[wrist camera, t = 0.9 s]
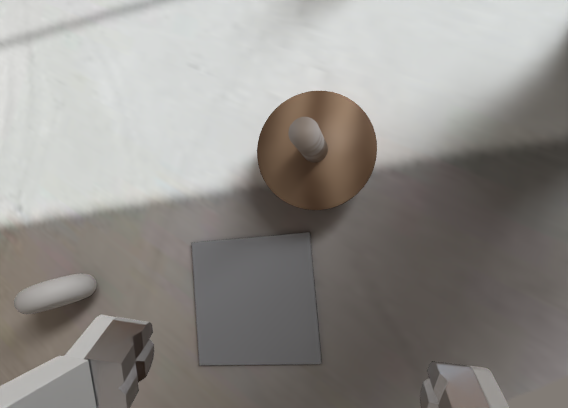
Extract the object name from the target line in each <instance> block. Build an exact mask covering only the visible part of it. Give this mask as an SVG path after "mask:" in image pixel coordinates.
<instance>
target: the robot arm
mask: <svg viewBox="0 0 568 408" xmlns="http://www.w3.org/2000/svg"><path fill="white" fill-rule="evenodd" d="M152 333H153V329H152V324H151V323H150V322H145V321H139V320H133V319H127V318H121V317H112V316H107V315H100V316H98V317H96V318H95V319H94V320H93V322H92V323H91V324H90V325H89V327H88V328H87V329H86V330H85V331H84V333H83V334H82V335H81V336H80V337H79V339H78V340H77V341H76V342H75V344H74V345H73V346H72V347H71V348H70V350H69V351H68V352H67V353H66V354H65V356H57V357H55V358H54V359H52V360H50V361H48V362H46V363H44V364H42V365H40V366H38V367H36V368H34V369H32V370H30V371H28V372H26V373H25V374H23V375H21V376H19V377H17V378H15V379H13V380H11V381H9V382H7V383H5V384H3V385H1V386H0V408H130V407H131V405H132V403H133V401H134V399H135V397H136V395H137V393H138V391H139V388H138V382H140V381H141V380H143V379H144V378H146V376H147V374H148V372H149V370H150V368H151V364H152V361H153V357H154V344H153V342H152V341H151V340H150V339H149V338H150V337H151V335H152ZM427 372H428V375H429V378H428V379H427V380H425V381H424V382H423V385H422V388H421V394H420V403H421V408H510V407H509V405H508V403H507V401H506V399H505V397H504V395H503V394H502V392H501V390H500V388H499V386H498V384H497V382H496V380H495V378H494V376H493V374H492V372H491V371H490V370H489V369H488V368H484V367H476V366H467V365H460V364H452V363H444V362H436V361H432V362H431V363H430V364H429V367H428V370H427Z"/></svg>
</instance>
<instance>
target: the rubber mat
mask: <svg viewBox="0 0 568 408" xmlns="http://www.w3.org/2000/svg"><path fill="white" fill-rule="evenodd" d="M192 258H193V273H194V289H195V305H196V321H197V337H198V353H199V365H275V364H321V363H322V361H321V350H320V339H319V328H318V317H317V306H316V294H315V283H314V272H313V261H312V250H311V239H310V232H308V233H296V234H285V235H273V236H261V237H249V238H238V239H226V240H214V241H202V242H192Z"/></svg>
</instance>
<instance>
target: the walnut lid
mask: <svg viewBox="0 0 568 408" xmlns="http://www.w3.org/2000/svg"><path fill="white" fill-rule="evenodd" d="M376 154H377V141H376V135H375V132H374V129H373V126H372V124H371V122H370V120H369V118H368V116H367V115H366V113H365V112H364V111H363V110H362V109H361V108H360V107H359V106H358V105H357V104H356V103H355V102H353V101H352V100H350V99H349V98H347V97H345V96H342V95H340V94H337V93H334V92H328V91H310V92H305V93H301V94H299V95H296V96H294V97H292V98H290V99H288V100H286V101H285V102H283V103H282V104H281V105H280V106H278V107H277V108H276V109H275V110H274V111H273V112H272V114H271V115H270V116H269V118H268V119H267V120H266V122H265V124H264V126H263V128H262V131H261V133H260V136H259V141H258V148H257V158H258V165H259V168H260V172H261V174H262V177H263V179H264V181H265V182H266V184H267V186H268V187H269V188H270V189H271V191H272V192H273V193H274V194H275V195H277V196H278V197H279V198H280V199H282V200H283V201H285V202H287V203H288V204H290V205H293V206H296V207H298V208H303V209H308V210H324V209H330V208H333V207H336V206H339V205H341V204H343V203H345V202H347V201H348V200H350V199H351V198H353V197H354V196H355V195H356V194H357V193H358V192H359V191H360V190H361V189H362V188H363V187H364V185H365V184H366V183H367V181H368V179H369V178H370V176H371V174H372V171H373V168H374V165H375V161H376Z"/></svg>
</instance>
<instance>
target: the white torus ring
mask: <svg viewBox="0 0 568 408" xmlns="http://www.w3.org/2000/svg"><path fill="white" fill-rule="evenodd" d="M96 287H97V282H96V279H95V278H94V277H93V276H91V275H89V274H83V273H82V274H74V275H68V276H64V277H59V278H55V279H51V280H48V281H45V282H41V283H38V284H35V285H33V286H30V287H28V288H25V289H24V290H22V291H21V292H19V293H18V294H17V296H16V297H15V299H14V306H15V308H16V309H17V310H18V311H19V312H20V313H23V314H34V313H39V312H43V311H47V310H51V309H54V308H58V307H61V306H65V305H68V304H71V303H74V302H77V301H79V300H82V299H84V298H87V297H89V296H91V295H92V294H93V293H94V291H95V290H96Z"/></svg>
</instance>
